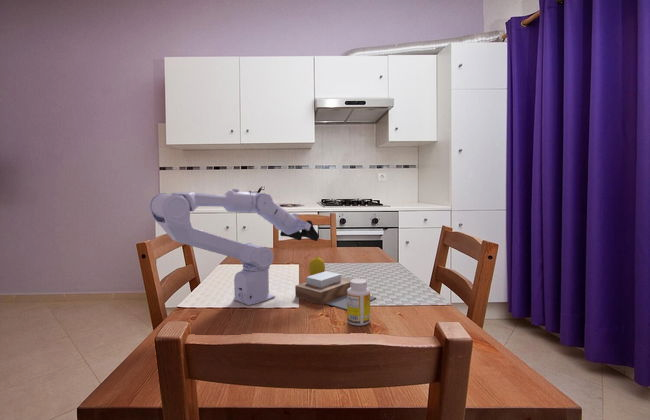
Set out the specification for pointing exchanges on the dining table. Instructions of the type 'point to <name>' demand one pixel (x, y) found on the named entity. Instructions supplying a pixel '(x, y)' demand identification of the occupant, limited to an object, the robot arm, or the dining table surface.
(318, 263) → the lemon
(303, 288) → the block
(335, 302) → the mat
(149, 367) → the dining table surface
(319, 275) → the light grey block
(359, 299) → the supplement bottle
